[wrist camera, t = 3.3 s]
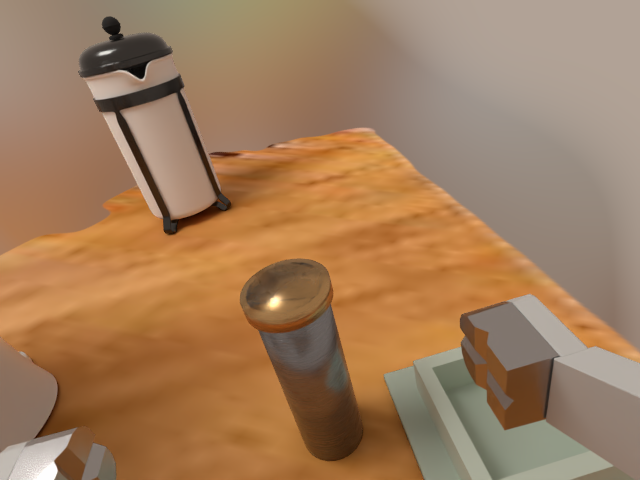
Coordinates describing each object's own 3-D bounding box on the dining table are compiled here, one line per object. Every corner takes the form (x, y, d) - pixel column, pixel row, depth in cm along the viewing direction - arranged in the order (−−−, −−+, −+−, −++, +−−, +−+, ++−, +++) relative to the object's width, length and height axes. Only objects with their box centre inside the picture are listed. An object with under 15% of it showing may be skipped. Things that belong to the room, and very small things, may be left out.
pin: (304, 475, 28) (240, 330, 20) (295, 410, 32) (239, 272, 25) (376, 453, 28) (338, 302, 21) (357, 391, 32) (320, 249, 25)
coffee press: (251, 186, 73) (188, -3, 58) (205, 235, 61) (109, 12, 45) (175, 190, 80) (99, 22, 64) (119, 236, 67) (9, 41, 52)
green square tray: (468, 592, 21) (467, 563, 19) (384, 379, 33) (378, 349, 31) (718, 511, 22) (740, 476, 20) (546, 330, 33) (550, 298, 32)
